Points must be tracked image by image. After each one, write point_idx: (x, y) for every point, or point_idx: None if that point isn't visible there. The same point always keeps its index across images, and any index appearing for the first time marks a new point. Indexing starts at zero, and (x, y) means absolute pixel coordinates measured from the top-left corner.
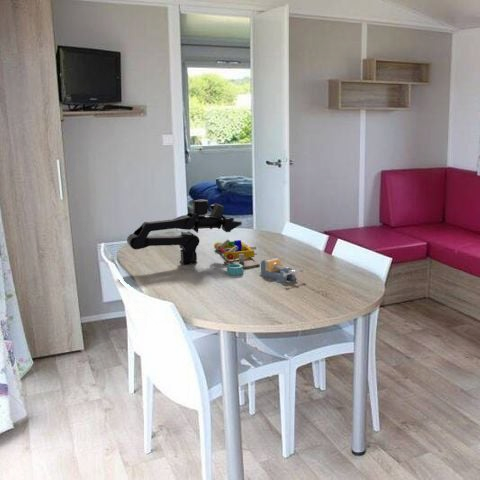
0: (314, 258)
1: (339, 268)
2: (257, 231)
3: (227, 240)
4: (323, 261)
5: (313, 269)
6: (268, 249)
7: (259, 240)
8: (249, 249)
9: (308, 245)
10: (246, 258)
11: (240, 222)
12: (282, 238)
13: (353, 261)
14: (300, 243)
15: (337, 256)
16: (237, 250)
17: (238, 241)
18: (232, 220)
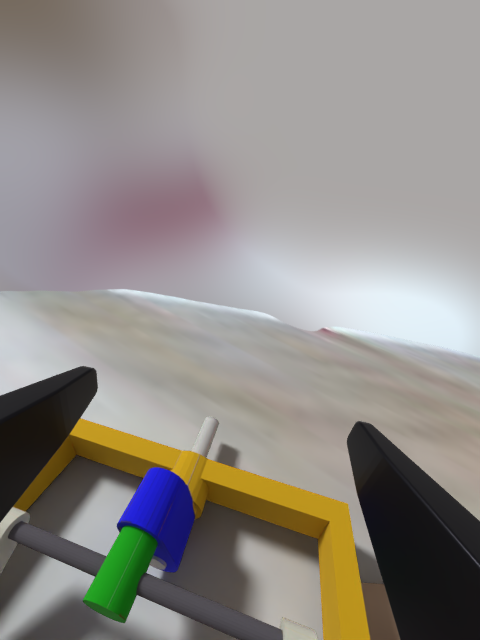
0: (351, 360)
1: (447, 374)
2: (15, 296)
3: (5, 535)
4: (382, 362)
5: (472, 418)
6: (204, 379)
7: (90, 339)
8: (301, 508)
9: (237, 314)
10: None
11: (385, 440)
12: (141, 307)
13: (385, 335)
14: (212, 312)
15: (343, 331)
16: (182, 553)
17: (170, 499)
18: (85, 405)
